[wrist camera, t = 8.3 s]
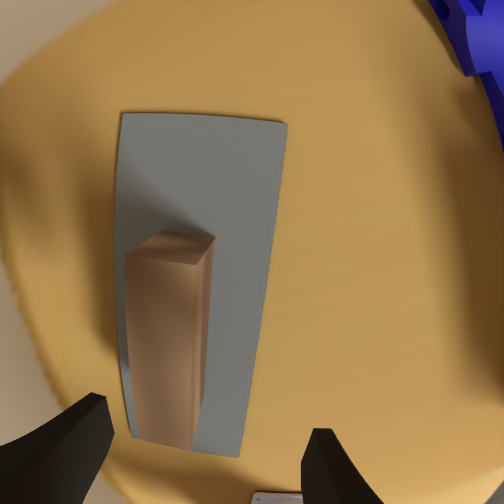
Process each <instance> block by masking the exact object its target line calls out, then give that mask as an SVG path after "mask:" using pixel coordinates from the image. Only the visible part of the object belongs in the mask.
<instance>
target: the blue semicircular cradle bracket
mask: <svg viewBox="0 0 504 504" xmlns="http://www.w3.org/2000/svg"><path fill="white" fill-rule="evenodd" d="M429 2H430V4H431V6H432V7H433V9H434V11H435V13H436V15H437V16H438V18H439V20H440V22H441V24H442V26H443V28H444V30H445V32H446V34H447V36H448V38H449V40H450V42H451V44H452V46H453V49H454V51H455V53H456V55H457V58H458V60H459V62H460V65H461V67H462V69H463V72H464V74H465V77H467V76H475V75H480V76H481V78H482V81H483V84H484V87H485V89H486V92H487V95H488V98H489V101H490V104H491V107H492V110H493V114H494V117H495V120H496V124H497V127H498V131H499V135H500V139H501V143H502V147H503V151H504V0H429Z"/></svg>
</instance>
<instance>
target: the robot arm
mask: <svg viewBox="0 0 504 504" xmlns="http://www.w3.org/2000/svg"><path fill="white" fill-rule="evenodd" d="M113 436H114V429H113V425H112V421H111V417H110V413H109V409H108V404H107V400H106V396H102V395H99V394H96V393H92V392H91V393H89V394H88V395H86V396H85V397H84V398H82V399H81V400H79V401H78V402H76V403H75V404H74V405H72V406H71V407H69V408H68V409H66V410H65V411H64V412H62V413H61V414H59V415H58V416H56V417H55V418H53V419H52V420H50V421H48V422H47V423H45V424H44V425H42V426H40V427H39V428H37V429H35V430H34V431H32V432H30V433H28V434H26V435H25V436H22V437H20V438H19V439H16V440H14V441H12V442H10V443H7V444H5V445H2V446H0V504H82V503H83V501H84V498H85V496H86V494H87V492H88V490H89V489H90V487H91V485H92V483H93V481H94V479H95V477H96V475H97V473H98V471H99V469H100V468H101V466H102V464H103V462H104V460H105V458H106V456H107V453H108V451H109V448H110V445H111V442H112V439H113ZM301 490H302V494H286V493H264V492H256V493H254V495H253V498H252V501H251V504H384V503H383V502H382V501H381V500H380V498H379V497H378V496H377V495H376V494H375V493H374V491H373V490H372V489H371V488H370V486H369V485H368V484H367V483H366V481H365V480H364V479H363V477H362V476H361V474H360V473H359V472H358V470H357V469H356V467H355V466H354V464H353V463H352V461H351V460H350V458H349V457H348V455H347V454H346V452H345V450H344V449H343V447H342V445H341V444H340V442H339V440H338V439H337V437H336V435H335V433H334V432H333V430H332V429H331V428H313V431H312V434H311V437H310V440H309V442H308V445H307V448H306V450H305V453H304V456H303V458H302V461H301Z"/></svg>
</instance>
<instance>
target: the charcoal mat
mask: <svg viewBox="0 0 504 504" xmlns="http://www.w3.org/2000/svg"><path fill="white" fill-rule="evenodd" d="M287 129H288V124H286V123H279V122H272V121H263V120H255V119H245V118H235V117H223V116H210V115H193V114H166V113H123V117H122V125H121V133H120V141H119V151H118V162H117V174H116V188H115V208H114V291H115V310H116V325H117V337H118V348H119V357H120V366H121V374H122V382H123V389H124V396H125V402H126V408H127V414H128V420H129V425H130V430H131V436H132V437H134V438H138V439H139V433H138V427H137V421H136V414H135V407H134V400H133V392H132V384H131V375H130V365H129V355H128V342H127V328H126V309H125V268H124V255H125V254H127V253H128V252H130V251H131V250H133V249H134V248H136V247H137V246H139V245H140V244H142V243H144V242H145V241H147V240H148V239H150V238H151V237H153V236H154V235H156V234H157V233H159V232H161V231H162V230H163V231H171V232H179V233H187V234H196V235H204V236H211V237H216V244H215V254H214V265H213V276H212V288H211V300H210V313H209V326H208V340H207V355H206V372H205V389H204V399H203V403H202V406H201V410H200V414H199V418H198V422H197V426H196V429H195V433H194V437H193V441H192V445H191V449H190V450H191V451H196V452H202V453H208V454H215V455H221V456H229V457H237V458H239V454H240V448H241V442H242V437H243V431H244V425H245V419H246V413H247V407H248V401H249V395H250V388H251V382H252V376H253V370H254V363H255V357H256V351H257V344H258V338H259V331H260V325H261V318H262V312H263V305H264V298H265V291H266V285H267V278H268V271H269V264H270V257H271V250H272V243H273V236H274V228H275V221H276V214H277V206H278V199H279V191H280V184H281V176H282V168H283V161H284V153H285V145H286V137H287ZM141 440H143V439H141ZM145 441H147V440H145ZM149 442H151V441H149ZM153 443H155V442H153ZM157 444H159V443H157ZM162 445H163V444H162ZM166 446H168V445H166ZM171 447H172V446H171ZM175 448H177V447H175ZM180 449H182V448H180ZM185 450H187V449H185Z"/></svg>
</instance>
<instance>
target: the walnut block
mask: <svg viewBox="0 0 504 504" xmlns="http://www.w3.org/2000/svg"><path fill="white" fill-rule="evenodd" d="M215 244H216V237H211V236H204V235H196V234H187V233H179V232H171V231H163V230H162V231H161V232H159V233H157V234H156V235H154V236H153V237H151V238H150V239H148V240H147V241H145V242H144V243H142V244H140V245H139V246H137V247H136V248H134V249H133V250H131V251H130V252H128V253H127V254H125V255H124V268H125V309H126V328H127V342H128V355H129V365H130V375H131V384H132V392H133V400H134V407H135V414H136V421H137V427H138V433H139V439H143V440H147V441H151V442H155V443H159V444H163V445H168V446H172V447H177V448H182V449H187V450H190V449H191V445H192V441H193V437H194V433H195V429H196V426H197V422H198V418H199V414H200V410H201V406H202V403H203V399H204V389H205V372H206V355H207V340H208V326H209V313H210V300H211V288H212V276H213V265H214V254H215Z"/></svg>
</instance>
